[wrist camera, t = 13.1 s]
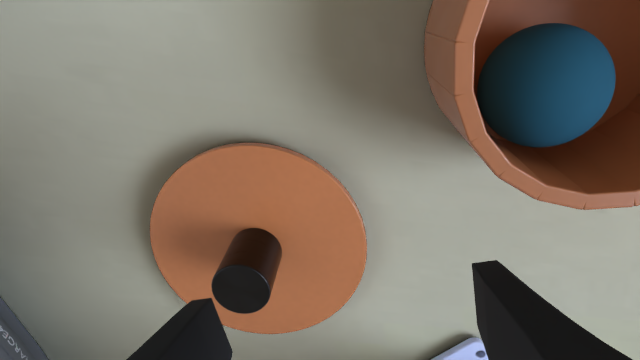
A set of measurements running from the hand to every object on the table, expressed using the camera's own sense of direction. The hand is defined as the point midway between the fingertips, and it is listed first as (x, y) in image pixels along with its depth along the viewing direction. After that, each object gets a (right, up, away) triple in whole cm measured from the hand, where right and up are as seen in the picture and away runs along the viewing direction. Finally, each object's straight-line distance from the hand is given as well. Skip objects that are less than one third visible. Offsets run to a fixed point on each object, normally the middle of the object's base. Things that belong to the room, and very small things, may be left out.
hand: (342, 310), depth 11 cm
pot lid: (-4, 0, +10) cm, 10 cm away
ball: (+7, +7, +4) cm, 11 cm away
